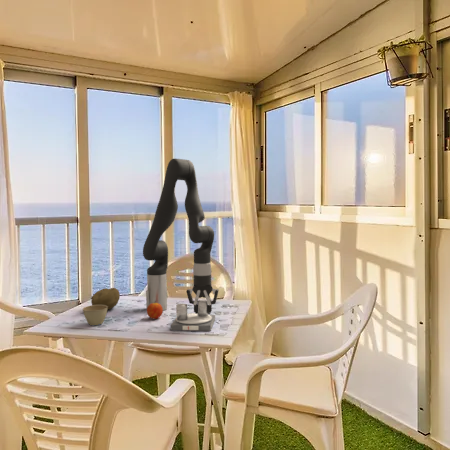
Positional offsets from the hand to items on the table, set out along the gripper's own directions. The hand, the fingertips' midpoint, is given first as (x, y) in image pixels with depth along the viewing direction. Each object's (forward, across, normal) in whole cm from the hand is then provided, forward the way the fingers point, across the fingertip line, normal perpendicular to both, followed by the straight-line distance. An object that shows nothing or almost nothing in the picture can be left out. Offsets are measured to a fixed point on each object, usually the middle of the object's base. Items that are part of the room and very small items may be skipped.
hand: (202, 313), depth 174 cm
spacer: (+1, 0, 0) cm, 1 cm away
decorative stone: (+5, -50, +20) cm, 55 cm away
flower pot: (+5, -45, -4) cm, 46 cm away
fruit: (+5, -22, +6) cm, 24 cm away
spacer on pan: (+1, -8, -5) cm, 9 cm away
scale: (+4, -3, -3) cm, 6 cm away
